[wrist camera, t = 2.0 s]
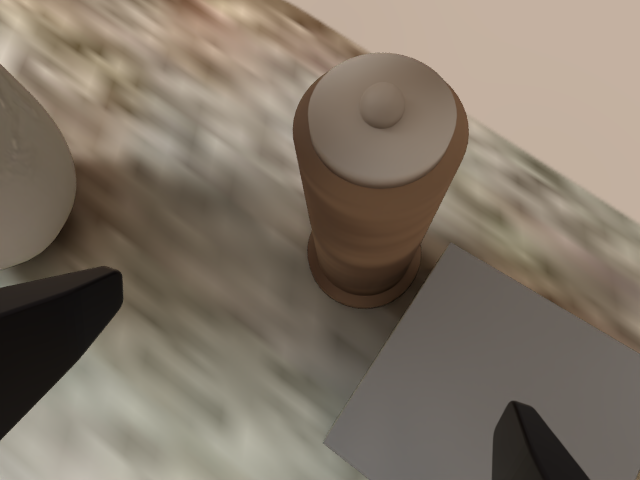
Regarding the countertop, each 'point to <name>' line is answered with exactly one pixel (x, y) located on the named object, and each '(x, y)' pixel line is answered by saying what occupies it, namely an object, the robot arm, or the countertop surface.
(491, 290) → the slate block
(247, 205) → the countertop surface
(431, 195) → the pepper mill
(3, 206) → the grey bottle
